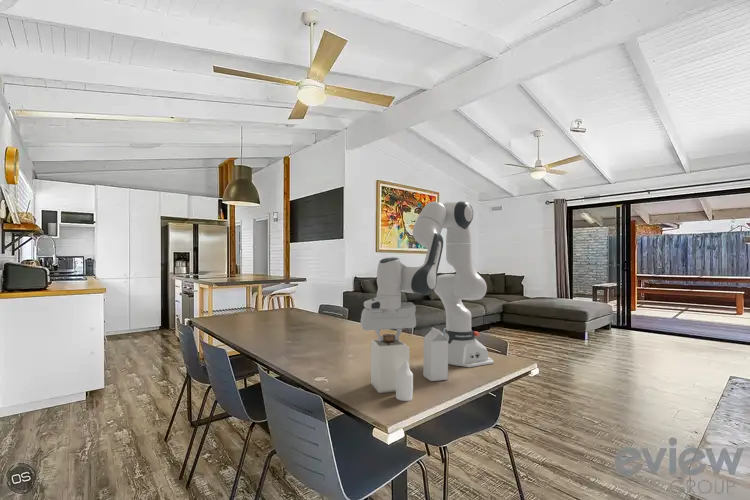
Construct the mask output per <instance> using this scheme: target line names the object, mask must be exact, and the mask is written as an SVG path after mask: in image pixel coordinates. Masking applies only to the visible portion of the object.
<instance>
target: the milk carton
mask: <svg viewBox="0 0 750 500" xmlns="http://www.w3.org/2000/svg"><path fill="white" fill-rule="evenodd" d="M422 367H423V368H422V369H423V373H422V374H423V377H424V378H426V379H427V380H428V381H430V382H436V381H447V380H449V375H448V374H449V364H448V340H447V339H446V338H445V333H443V332H442V331H441V330H440V329H437V328H435V327H431V330H430V331H429V332H428V333H427V334H426V335H425V336H424V337H423V366H422Z"/></svg>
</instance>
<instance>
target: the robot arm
mask: <svg viewBox="0 0 750 500" xmlns="http://www.w3.org/2000/svg"><path fill="white" fill-rule="evenodd" d="M473 219H474V210H473V207H472V206H471V204H470V203H469V202H466V201H463V200H462V201H461V200H460V201H450V202H444V203H441V202H439V201H429V202H428V203H427V204H426V205H425V206H424V207H423V208H422V210H421V211H420V213H419V214H418V217H416V220H415V222H414V224H413V226H412V235H413V236H412V237H413V239H414V240H415V241H416V243H418V245H420V246H422V247H423V248H426V249H427V250H426V251H427V252H426V255H425V258H424V262H423V264H422V265H420V266H417V267H416V266H407V265H406V264H403V262H401V260H400V258H398V257H393V256H392V257H385V258H382V259H380V260H379V261H378V265H377V271H376V286H377V291H376V297H374V298H371V299H367V300H365V301H364V302H363V306H364V308H363V309H362V310H361V315H360V328H361V329H362V330H364V331H374V333H375V334H376V336H377V337H378V338H377V340H378V342H383V337H382V335H381V334H380V333H382V332H381V330H394V329H395V330H396V331H397V332H396V333H395V334H394V335H395V341H399V340H400V336H401V334H402V333H403V329H414V328H415V327H416V326H417V320H416V319H417V318H416V311H417V310H416V306H417V305H415V304H414V303H413V301H408V302H405V301H404V302H402V292H403V293H408V294H410V293H411V294H415V295H416V294H417V295H420V296H428V295H431V293H432V292H433V291H434V293H435V294H436V296H438V297H439V299H440V300H441V303H442V305H443V307H444V310H445V311H444V312H445V329H444V330H445V331H444V337H445V338H446V339H447V340H448V365H451V366H459V367H465V368H472V367H479V366H484V365H485V366H487V365H493V364H494V360H493V358H491V357H489V353H488V352H489V351H488V349H487V347H486V346H484V344H482V343H481V342H480V341H479V340H477V337H479V336H480V332H479V331H475V330H472V313H471V311H470V310H469V309H468V307H467V308H466V306H465V305H464V303H463V302H462V301H463V300H464V301H465V300H466V301H476V300H482V299H483V298H484V297H485V295H486V294H487V291H488V289H487V288H488V285H487V282H486V281H485V279H484V278H483V277H482V276H481V275H480V274H479V272H478V271H477V270H476V268H475V266H474V264H473V258H472V257H473V255H472V237H471V228H470V225H471V223H472V221H473ZM443 229H446V236H445V259H446V261H447V264H448V265H450V266H451V267H452V268H453V269H454V270H455V274H454V273H445V274H440V275H438V271H439V267H440V266H439V265H440V262H441V258H442V254H443V250H444V249H443V248H444V238H443V236H442V235H441V234H442V230H443Z"/></svg>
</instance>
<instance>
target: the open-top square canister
mask: <svg viewBox="0 0 750 500" xmlns="http://www.w3.org/2000/svg"><path fill="white" fill-rule="evenodd" d="M370 341H371V342H370V343H371V346H370V348H371V349H370V385H371V386H372V387H373V388H374V389H375V390H376V392H377V393H378V394H386V393H387V394H388V393H396V377H397V372H398V369H399V368H400V367H401V365H402V364H403V363H405V362H408V364H409V365H410V346H408V345H407V344H406V343H404V341H402V340H400V339H399V341H395V342H394V343H390V345H387V343H384V342H378V339H370Z"/></svg>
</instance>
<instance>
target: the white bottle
mask: <svg viewBox="0 0 750 500" xmlns="http://www.w3.org/2000/svg"><path fill="white" fill-rule="evenodd" d="M413 393H414V373H413V372H412V371H411V369H410V363H409V364H408V362H405V363H403V364H402V365H401V367H400V368H399V369H398V372H397V377H396V392H395V398H396V399H397V400H398V401H403V402H408V401H409V402H411V401H412V400H413Z"/></svg>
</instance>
